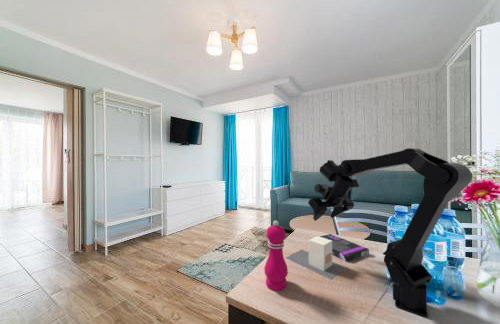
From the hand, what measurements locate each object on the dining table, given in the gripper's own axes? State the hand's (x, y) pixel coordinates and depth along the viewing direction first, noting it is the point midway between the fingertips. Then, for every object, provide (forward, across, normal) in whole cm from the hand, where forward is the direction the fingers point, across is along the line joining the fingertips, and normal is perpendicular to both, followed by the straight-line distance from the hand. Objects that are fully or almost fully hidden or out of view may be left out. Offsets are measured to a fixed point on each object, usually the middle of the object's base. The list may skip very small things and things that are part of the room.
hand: (323, 218), depth 81 cm
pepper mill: (+8, +28, +16) cm, 33 cm away
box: (+14, -10, +7) cm, 18 cm away
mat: (+10, +8, +11) cm, 17 cm away
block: (+9, +7, +13) cm, 17 cm away
